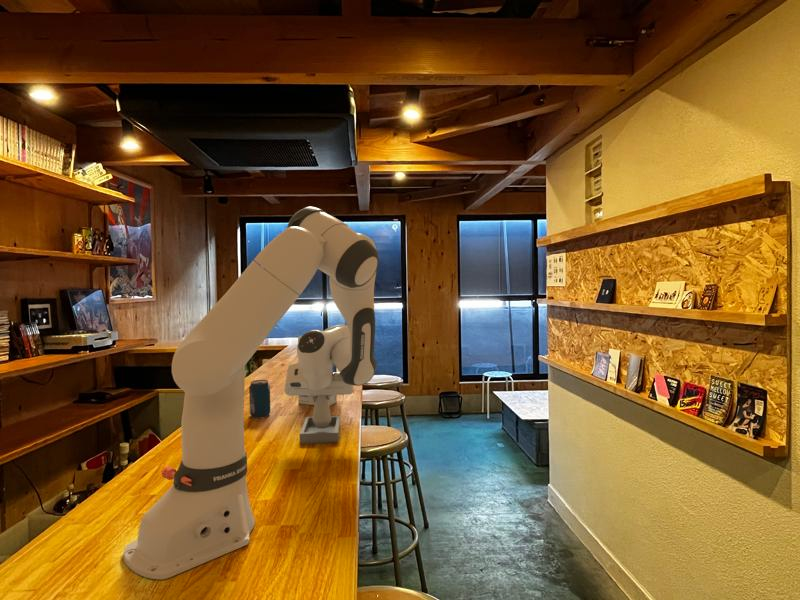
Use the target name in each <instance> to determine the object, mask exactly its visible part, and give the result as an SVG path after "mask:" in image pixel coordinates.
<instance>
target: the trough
mask: <svg viewBox="0 0 800 600" xmlns="http://www.w3.org/2000/svg"><path fill="white" fill-rule="evenodd" d="M312 418H313V416H305V419H304V420H303V421H304V422H303V424H302V427H301V429H300V432H299V444H301V445H303V444H305V445H306V444H307V445H308V444H312V445H313V444H337V443H339V437H340V431H339V430H340V429H341V415H331V422H330V424H329V426H328V427H327V428H317V427H315V425H314V422H313V419H312Z"/></svg>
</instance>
